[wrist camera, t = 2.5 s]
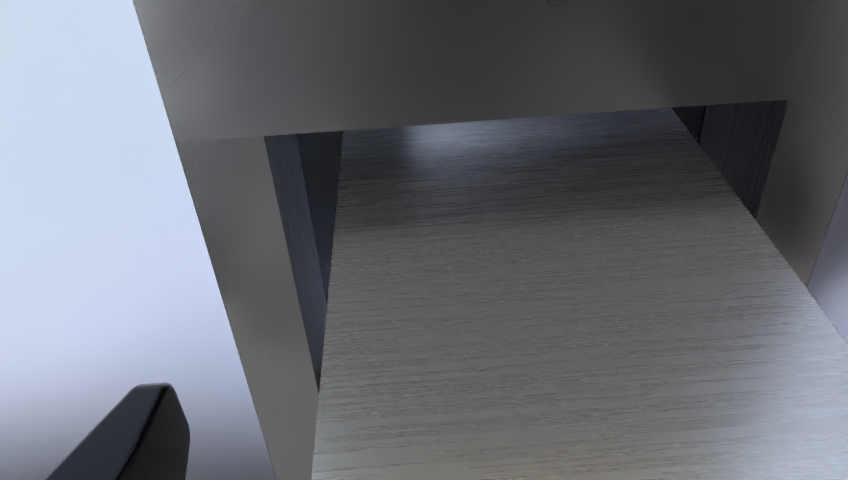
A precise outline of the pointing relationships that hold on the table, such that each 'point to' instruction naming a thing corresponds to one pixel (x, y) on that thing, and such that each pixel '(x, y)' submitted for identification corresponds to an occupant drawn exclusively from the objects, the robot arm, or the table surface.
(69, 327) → the table surface
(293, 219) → the rail
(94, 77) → the table surface
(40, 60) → the table surface
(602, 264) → the grey rectangular block
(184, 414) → the robot arm
